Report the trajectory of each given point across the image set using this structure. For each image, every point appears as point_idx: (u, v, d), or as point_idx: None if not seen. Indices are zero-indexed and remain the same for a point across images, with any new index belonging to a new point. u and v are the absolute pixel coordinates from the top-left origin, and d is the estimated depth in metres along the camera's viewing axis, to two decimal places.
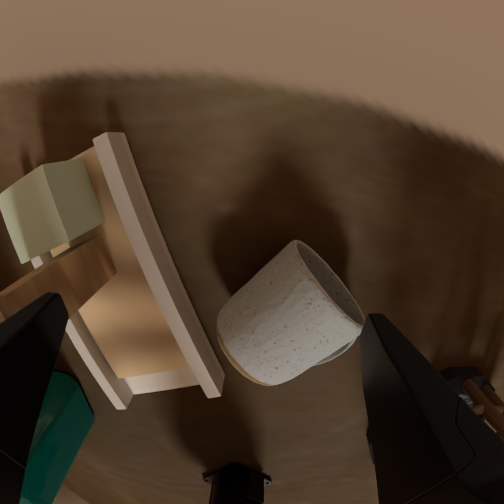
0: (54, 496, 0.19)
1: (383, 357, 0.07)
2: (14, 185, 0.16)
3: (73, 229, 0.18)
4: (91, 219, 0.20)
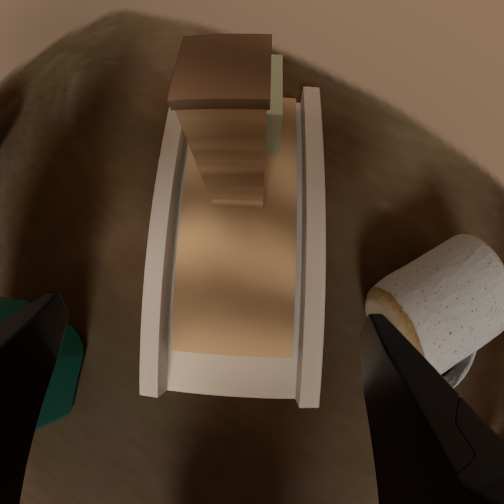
0: None
1: (383, 357, 0.07)
2: None
3: None
4: None
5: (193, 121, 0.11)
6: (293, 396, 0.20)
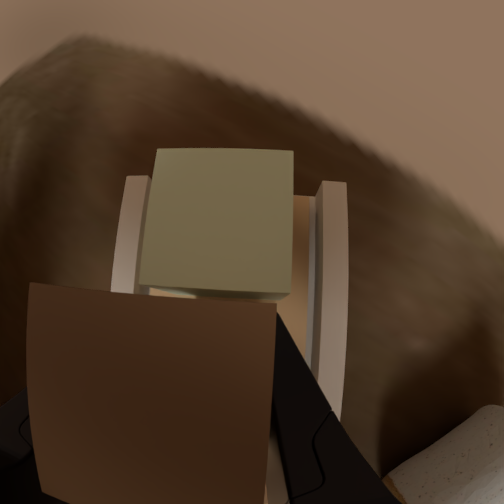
0: None
1: None
2: (213, 151, 0.11)
3: None
4: None
5: None
6: None
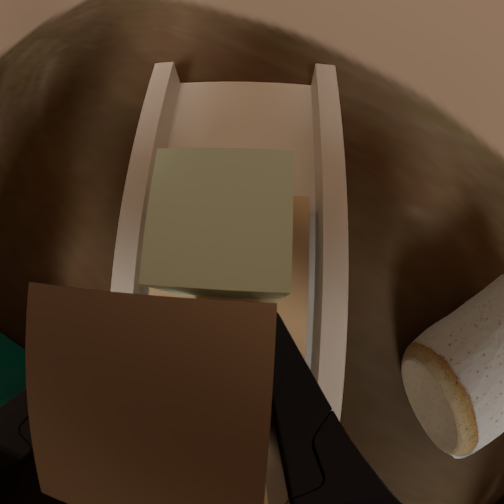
0: None
1: None
2: (213, 150, 0.11)
3: None
4: None
5: None
6: None
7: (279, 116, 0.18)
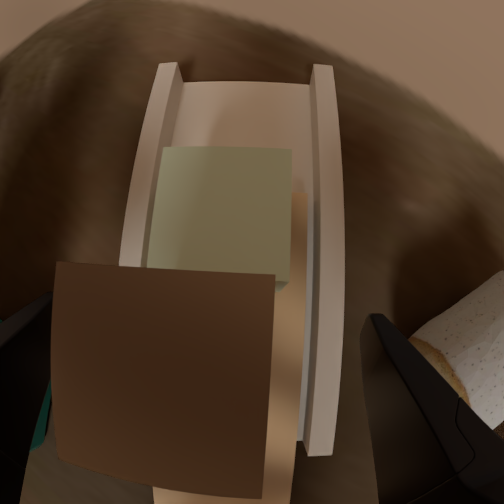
0: None
1: (383, 357, 0.07)
2: (216, 149, 0.12)
3: None
4: None
5: None
6: (300, 438, 0.15)
7: (279, 114, 0.19)
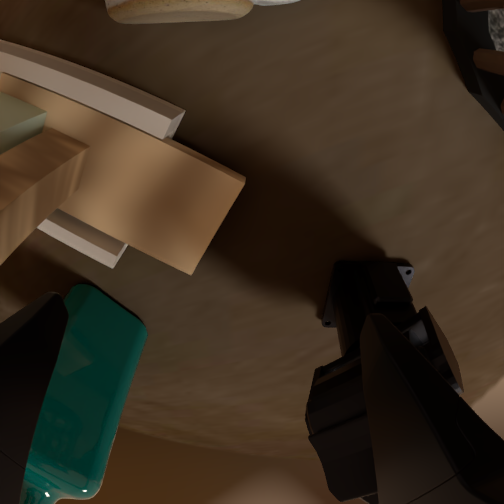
0: (99, 446, 0.17)
1: (383, 357, 0.07)
2: None
3: None
4: (24, 115, 0.14)
5: None
6: (170, 131, 0.18)
7: None
